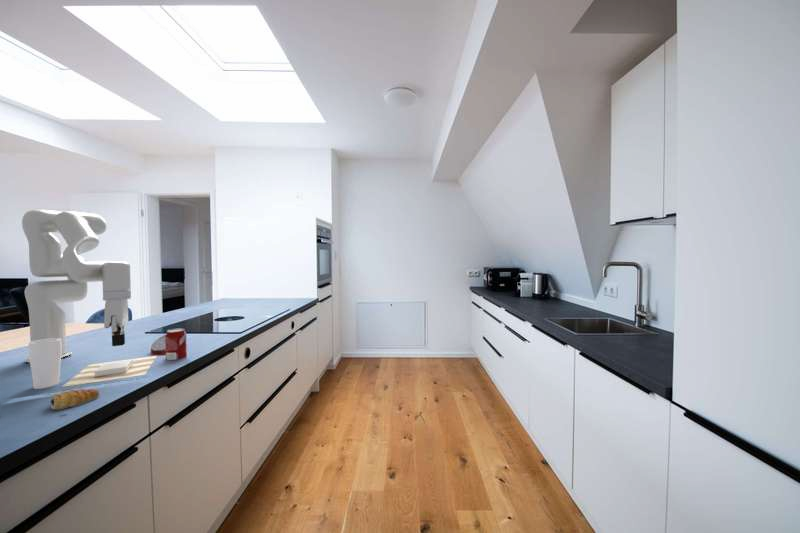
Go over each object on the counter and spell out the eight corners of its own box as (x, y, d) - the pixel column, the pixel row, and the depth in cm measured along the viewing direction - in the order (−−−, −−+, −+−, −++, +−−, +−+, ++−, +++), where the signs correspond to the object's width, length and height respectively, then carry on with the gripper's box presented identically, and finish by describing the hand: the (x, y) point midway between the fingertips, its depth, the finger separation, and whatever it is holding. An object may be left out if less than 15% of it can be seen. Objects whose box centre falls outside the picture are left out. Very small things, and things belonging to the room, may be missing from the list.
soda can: (175, 363, 118) (175, 332, 118) (161, 362, 119) (160, 331, 119) (191, 357, 125) (190, 328, 124) (177, 356, 126) (176, 327, 126)
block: (104, 362, 110) (94, 371, 102) (133, 358, 114) (126, 366, 106) (104, 368, 110) (94, 377, 102) (133, 364, 115) (126, 372, 106)
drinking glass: (32, 394, 91) (30, 344, 91) (27, 389, 95) (26, 341, 94) (65, 386, 97) (64, 339, 96) (60, 382, 100) (58, 336, 100)
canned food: (180, 363, 132) (185, 344, 130) (150, 366, 125) (155, 347, 122) (175, 346, 139) (180, 328, 137) (146, 349, 132) (151, 330, 129)
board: (89, 367, 114) (89, 364, 114) (157, 358, 125) (157, 355, 124) (61, 390, 94) (61, 387, 94) (145, 377, 104) (145, 374, 104)
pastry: (95, 394, 92) (94, 381, 92) (102, 399, 88) (102, 386, 88) (47, 407, 84) (47, 393, 84) (53, 413, 80) (53, 399, 80)
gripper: (109, 294, 116) (111, 342, 117) (96, 298, 104) (97, 352, 104) (135, 292, 120) (136, 339, 121) (125, 296, 107) (126, 348, 108)
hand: (118, 345), depth 112 cm, fingers closed
